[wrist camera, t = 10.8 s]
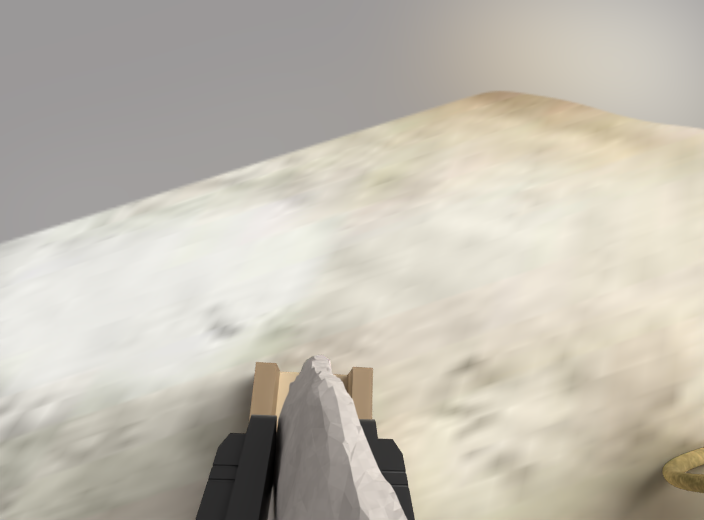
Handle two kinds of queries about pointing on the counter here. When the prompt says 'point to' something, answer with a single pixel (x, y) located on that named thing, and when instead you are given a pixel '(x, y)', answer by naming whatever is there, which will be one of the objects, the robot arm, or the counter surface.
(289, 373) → the holder
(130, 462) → the counter surface
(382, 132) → the counter surface
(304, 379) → the stone tool
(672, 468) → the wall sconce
